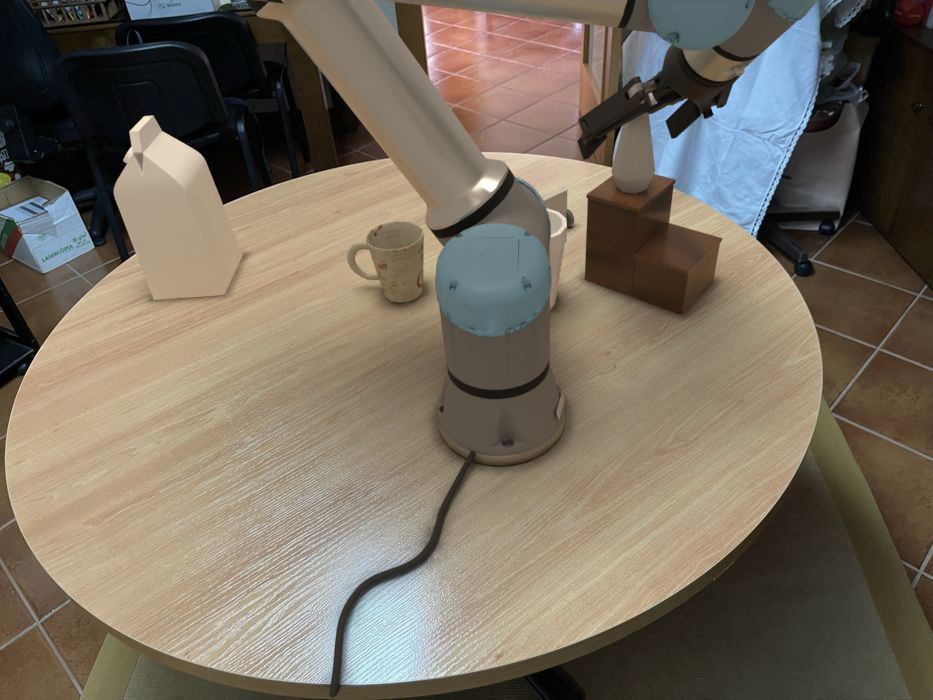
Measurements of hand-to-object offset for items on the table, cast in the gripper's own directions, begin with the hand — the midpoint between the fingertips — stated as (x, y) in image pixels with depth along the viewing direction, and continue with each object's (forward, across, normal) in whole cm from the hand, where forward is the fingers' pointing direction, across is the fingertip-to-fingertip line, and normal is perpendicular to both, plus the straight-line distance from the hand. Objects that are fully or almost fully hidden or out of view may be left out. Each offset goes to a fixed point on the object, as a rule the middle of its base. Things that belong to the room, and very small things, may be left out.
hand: (627, 139), depth 94 cm
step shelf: (+11, +2, -18) cm, 21 cm away
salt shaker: (+3, 0, -6) cm, 7 cm away
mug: (+22, -34, -8) cm, 41 cm away
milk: (+35, -62, +6) cm, 71 cm away
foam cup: (+13, -15, -16) cm, 26 cm away
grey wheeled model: (+30, -8, 0) cm, 31 cm away
